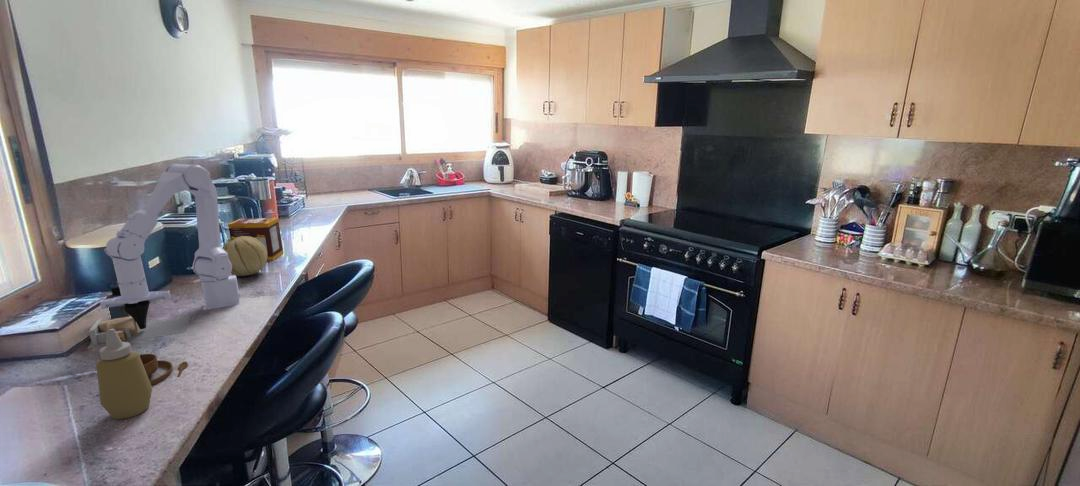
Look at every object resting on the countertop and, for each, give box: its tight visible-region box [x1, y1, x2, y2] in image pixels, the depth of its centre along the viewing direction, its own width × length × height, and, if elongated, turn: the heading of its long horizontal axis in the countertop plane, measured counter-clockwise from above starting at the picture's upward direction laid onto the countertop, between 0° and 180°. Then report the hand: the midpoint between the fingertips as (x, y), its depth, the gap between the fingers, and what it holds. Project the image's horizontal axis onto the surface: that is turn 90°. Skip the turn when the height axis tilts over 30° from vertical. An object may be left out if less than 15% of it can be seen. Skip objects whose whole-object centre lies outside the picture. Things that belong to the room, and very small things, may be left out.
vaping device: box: [105, 280, 130, 319], centre depth 140 cm, size 3×5×12 cm, turn 78°
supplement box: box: [227, 217, 284, 261], centre depth 200 cm, size 10×15×16 cm
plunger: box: [115, 329, 126, 341], centre depth 128 cm, size 3×4×2 cm
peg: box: [99, 315, 139, 335], centre depth 131 cm, size 8×4×4 cm, turn 119°
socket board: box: [86, 315, 191, 350], centre depth 133 cm, size 20×12×5 cm, turn 119°
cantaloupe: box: [221, 236, 268, 277], centre depth 179 cm, size 15×15×15 cm
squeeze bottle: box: [96, 329, 153, 420], centre depth 97 cm, size 8×8×18 cm
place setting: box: [119, 337, 189, 386], centre depth 114 cm, size 18×20×6 cm
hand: (143, 327), depth 133 cm, fingers closed
